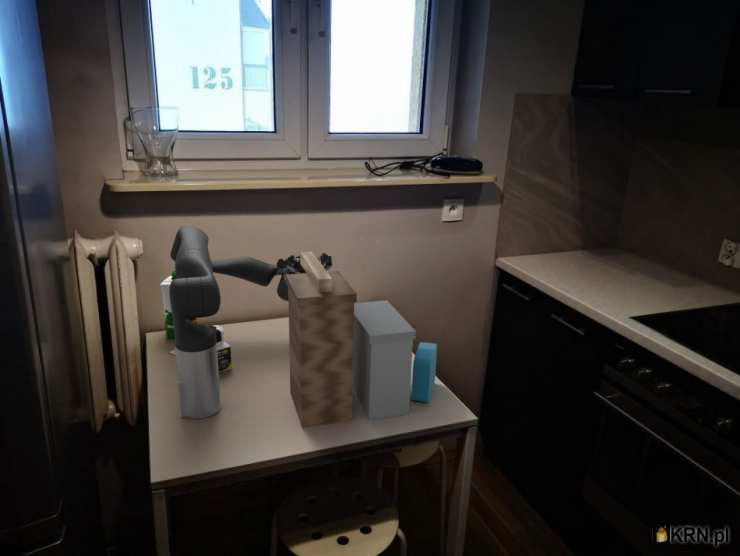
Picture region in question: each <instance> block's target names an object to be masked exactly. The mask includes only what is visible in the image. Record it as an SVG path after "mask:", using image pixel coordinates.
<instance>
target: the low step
mask: <svg viewBox="0 0 740 556" xmlns="http://www.w3.org/2000/svg"><path fill="white" fill-rule="evenodd" d="M416 334H417V333H416V329H414V328H413V326H411V324H410V323H409V322H408V321H407V320H406V319H405V318H404V317H403V316H402V314H401V313H400V312H399V311H398V310H397V309H396V308H395V307H394V306H393V305H392V304H391V302H389V300H377V301H376V300H374V301H364V302H362V301H361V302H354V339H353V390H352V392H353V394H354V395H355V397H356V398H357V400H358V402H359V403H360V405H361V408H362V410H363V411H364V414H365V415H366V417H367V419H368V421H371V420H372V421H373V420H378V419H385V418H392V417H398V416H399V417H401V416H406V415H409V413H410V399H411V382H412V380H411V378H412V364H413V363H412V361H413V359H412V358H413V347H414V346H413V344H414V341H413V340H416Z"/></svg>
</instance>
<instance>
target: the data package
mask: <svg viewBox="0 0 740 556" xmlns="http://www.w3.org/2000/svg"><path fill="white" fill-rule="evenodd" d="M437 354H438V344H437V343H433V342H432V343H431V342H424V341H423V342H422V341H420V342H419V344H418V347H417V350H416V352H415V355H414V357H413V363H412V364H413V365H412V376H411V378H412V380H411V382H412V383H411V393H410V399H411V401H415V402H421V403H427V404H428V403H430V401H431V397H432V393H433V391H434V390H433V389H434V386H435V382H436V372H437V371H436V369H437V368H436V367H437V356H438V355H437Z"/></svg>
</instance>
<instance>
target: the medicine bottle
mask: <svg viewBox="0 0 740 556" xmlns="http://www.w3.org/2000/svg"><path fill="white" fill-rule="evenodd" d="M207 326H208V327H210V328H212V329H213V330H214V331H215V333H216V340H217V356H218V371H219V373H221V371H222V372H225V371H228V370H232V369H233V368H232V367H233V365H232V350H231V349H232V347H231V345H230V344H229V343H227V342H226V341H225V331H224V327H222V326H221V325H217V324H215V325H211V324H210V325H207Z"/></svg>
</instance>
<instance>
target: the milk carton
mask: <svg viewBox="0 0 740 556" xmlns="http://www.w3.org/2000/svg"><path fill="white" fill-rule="evenodd" d="M174 279H177V277H176V273H175V270H173V271H171V275H169V276H168V277H166V278H165V279H164V280H162V282H161V283H160V284H159V286H160V289H161V295H162V305H163V315H164V325H165V327H164V328H165V335H166V340H167V339H169V340H175V334H174V324H173V317H172V310H171V304H170V296H169V288H170V284H171V282H172V281H173V280H174Z"/></svg>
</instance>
